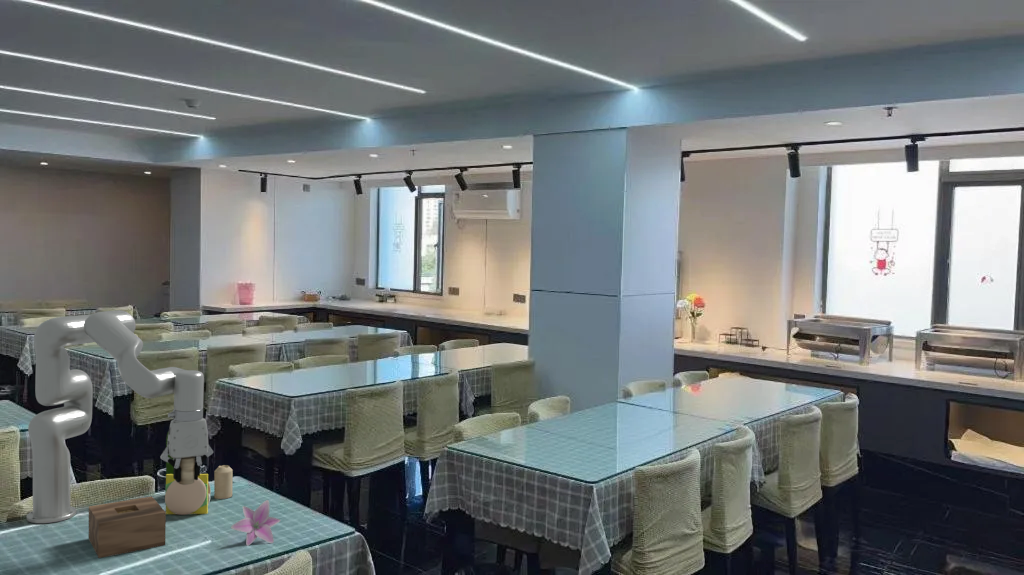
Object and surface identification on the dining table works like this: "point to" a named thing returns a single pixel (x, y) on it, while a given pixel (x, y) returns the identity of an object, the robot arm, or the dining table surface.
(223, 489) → the candle
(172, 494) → the hamburger
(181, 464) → the maple peg
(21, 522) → the dining table surface
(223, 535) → the dining table surface
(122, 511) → the tan square tile
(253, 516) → the lily
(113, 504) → the socket block
